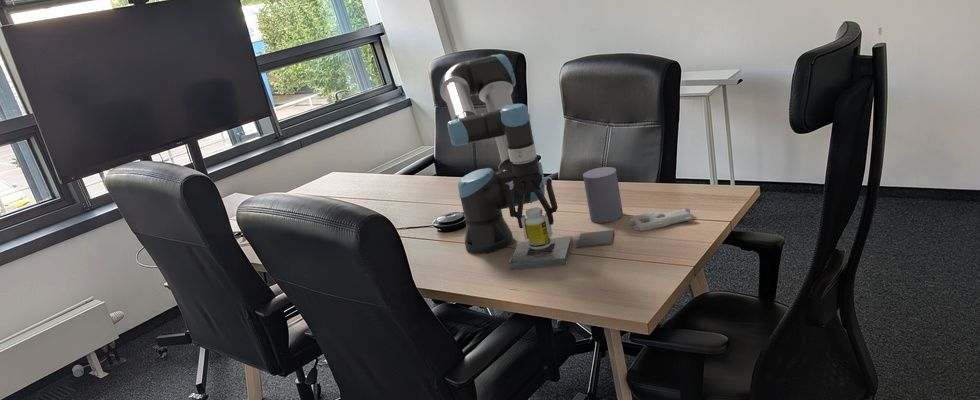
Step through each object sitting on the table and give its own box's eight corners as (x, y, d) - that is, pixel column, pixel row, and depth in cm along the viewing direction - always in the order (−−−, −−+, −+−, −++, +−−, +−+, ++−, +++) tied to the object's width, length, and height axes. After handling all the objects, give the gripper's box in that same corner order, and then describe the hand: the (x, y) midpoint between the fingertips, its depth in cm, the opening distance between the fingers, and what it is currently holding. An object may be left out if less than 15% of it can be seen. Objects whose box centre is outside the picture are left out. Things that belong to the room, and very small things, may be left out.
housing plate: (510, 270, 211) (509, 263, 210) (520, 248, 226) (519, 242, 225) (566, 264, 207) (564, 258, 206) (572, 242, 221) (571, 236, 221)
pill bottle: (549, 248, 212) (542, 212, 208) (528, 251, 213) (521, 215, 210) (552, 240, 217) (545, 205, 214) (531, 242, 219) (524, 207, 216)
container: (584, 218, 239) (576, 174, 234) (612, 209, 242) (605, 165, 237) (601, 226, 229) (593, 180, 225) (629, 216, 232) (622, 170, 228)
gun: (686, 201, 225) (693, 212, 216) (688, 211, 226) (695, 223, 217) (626, 214, 227) (631, 226, 218) (628, 225, 228) (633, 237, 219)
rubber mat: (577, 248, 216) (576, 246, 216) (580, 235, 225) (580, 233, 225) (611, 244, 214) (611, 242, 213) (613, 231, 223) (613, 229, 223)
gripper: (487, 168, 207) (504, 245, 213) (555, 159, 201) (570, 238, 208) (493, 160, 214) (509, 235, 220) (559, 151, 208) (573, 228, 215)
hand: (538, 236), depth 214 cm, fingers closed on pill bottle, 6 cm apart
